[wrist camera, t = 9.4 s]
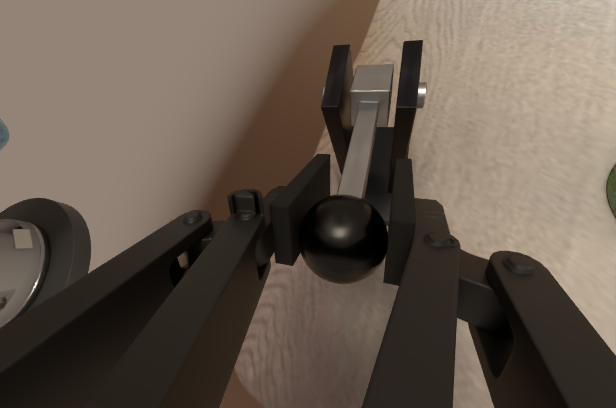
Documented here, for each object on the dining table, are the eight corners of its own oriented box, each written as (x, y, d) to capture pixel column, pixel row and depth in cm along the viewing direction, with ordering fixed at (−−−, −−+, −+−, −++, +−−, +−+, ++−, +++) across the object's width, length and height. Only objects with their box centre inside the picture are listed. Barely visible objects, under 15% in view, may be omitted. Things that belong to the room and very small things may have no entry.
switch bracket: (400, 226, 25) (423, 158, 13) (337, 218, 27) (302, 151, 14) (409, 134, 28) (435, 0, 15) (351, 132, 30) (332, 10, 17)
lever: (380, 304, 11) (386, 269, 8) (297, 287, 12) (276, 251, 9) (401, 107, 18) (408, 52, 15) (348, 107, 19) (345, 55, 16)
